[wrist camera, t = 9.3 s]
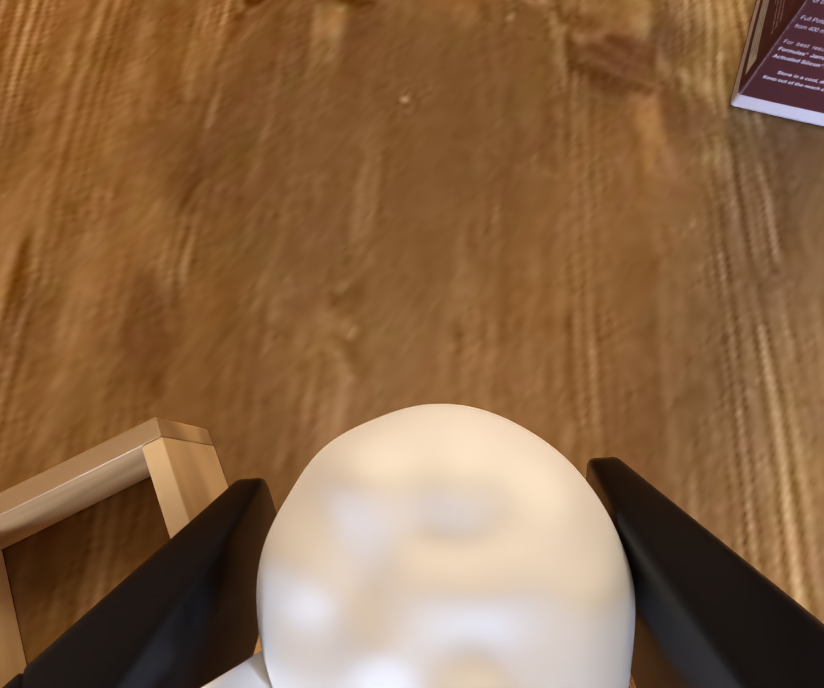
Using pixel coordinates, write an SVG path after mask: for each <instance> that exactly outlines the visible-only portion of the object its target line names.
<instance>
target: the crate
mask: <svg viewBox="0 0 824 688" xmlns="http://www.w3.org/2000/svg"><path fill="white" fill-rule="evenodd" d="M212 445H213V443H212V441H211V438H210V435H209V432H208V430H207V429H204V428H200V427H196V426H191V425H187V424H183V423H178V422H174V421H170V420H165V419H161V418H157V417H154V418H152V419H150V420H148V421H146V422H144V423H142V424H140V425H138V426H136V427H134V428H131V429H129V430H127V431H125V432H123V433H121V434H119V435H117V436H115V437H113V438H111V439H109V440H107V441H105V442H103V443H101V444H99V445H97V446H95V447H93V448H91V449H89V450H87V451H84V452H82V453H80V454H78V455H76V456H74V457H72V458H70V459H68V460H66V461H64V462H62V463H60V464H58V465H56V466H54V467H52V468H50V469H48V470H46V471H44V472H42V473H39V474H37V475H35V476H33V477H31V478H29V479H27V480H25V481H23V482H21V483H19V484H17V485H15V486H13V487H11V488H9V489H7V490H5V491H3V492H1V493H0V688H2V687H3V686H4V685H6V684H7V683H8V682H9V681H10V680H11V679H12V678H13V677H15V676H16V675H17V674H19V673H23V672H24V669H25V667H26V666H27V665H26V660H25V655H24V651H23V646H22V641H21V637H20V632H19V627H18V623H17V618H16V613H15V609H14V604H13V599H12V595H11V590H10V585H9V581H8V576H7V571H6V567H5V562H4V558H3V553H2V551H1V550H2V549H4V548H6V547H8V546H10V545H12V544H14V543H16V542H18V541H20V540H22V539H24V538H26V537H28V536H30V535H32V534H34V533H36V532H39V531H41V530H43V529H45V528H47V527H49V526H51V525H53V524H55V523H57V522H59V521H61V520H63V519H65V518H67V517H69V516H71V515H73V514H75V513H77V512H79V511H81V510H83V509H85V508H87V507H89V506H91V505H93V504H95V503H97V502H99V501H101V500H103V499H105V498H108V497H110V496H112V495H114V494H116V493H118V492H120V491H122V490H124V489H126V488H128V487H130V486H132V485H134V484H136V483H138V482H140V481H142V480H144V479H146V478H148V477H150V476H151V478H152V482H153V485H154V488H155V491H156V494H157V498H158V501H159V504H160V507H161V510H162V514H163V517H164V520H165V523H166V526H167V530H168V533H169V536H170V539H171V538H172V537H173V536H174V535H175V534H177V533H178V532H179V531H180V530H181V529H182V528H183V527H184V526H186V525H187V524H188V523H189V522H190V521H191V520H192V519H194V518H195V517H196V516H197V515H198V514H199V513H200V512H201V511H203V510H204V509H205V508H206V507H207V506H208V505H209V504H210V503H212V502H213V501H214V500H215V499H216V498H217V497H218V496H220V495H221V494H222V493H223V492H224V491H225V490H226V489H227V488H228V485H227V482H226V479H225V477H224V474H223V471H222V468H221V465H220V462H219V460H218V457H217V454H216V451H215V448H214V446H212ZM260 651H262V648H261V642H260V636H258V640H257V644H256V648H255V651H254V655H255V654H257V653H259V652H260Z"/></svg>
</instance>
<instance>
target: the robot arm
mask: <svg viewBox="0 0 824 688" xmlns="http://www.w3.org/2000/svg"><path fill="white" fill-rule="evenodd" d="M586 481H587V482H588V484H589V485H590V486H591V488H592V489H593V491H594V492H595V494H596V495H597V496H598V498H599V500H600V501H601V503H602V504H603V506H604V508H605V509H606V511H607V513H608V515H609V517H610V519H611V521H612V523H613V525H614V527H615V529H616V531H617V533H618V535H619V538H620V540H621V543H622V545H623V548H624V550H625V553H626V556H627V559H628V562H629V566H630V569H631V574H632V578H633V584H634V591H635V632H634V644H633V655H632V664H631V674H632V677H633V680H634V683H635V685H636V688H824V624H823V623H822V622H821V621H820V620H818V619H817V618H816V617H815V616H813V615H812V614H811V613H810V612H808V611H807V610H806V609H805V608H803V607H802V606H801V605H800V604H798V603H797V602H796V601H795V600H793V599H792V598H791V597H790V596H789V595H787V594H786V593H785V592H784V591H782V590H781V589H780V588H779V587H777V586H776V585H775V584H774V583H772V582H771V581H770V580H769V579H767V578H766V577H765V576H764V575H763V574H761V573H760V572H759V571H758V570H756V569H755V568H754V567H753V566H751V565H750V564H749V563H748V562H746V561H745V560H744V559H743V558H741V557H740V556H739V555H738V554H736V553H735V552H734V551H733V550H732V549H730V548H729V547H728V546H727V545H725V544H724V543H723V542H722V541H720V540H719V539H718V538H717V537H715V536H714V535H713V534H712V533H710V532H709V531H708V530H707V529H706V528H704V527H703V526H702V525H701V524H699V523H698V522H697V521H696V520H694V519H693V518H692V517H691V516H689V515H688V514H687V513H686V512H684V511H683V510H682V509H681V508H679V507H678V506H677V505H676V504H675V503H673V502H672V501H671V500H670V499H668V498H667V497H666V496H665V495H663V494H662V493H661V492H660V491H658V490H657V489H656V488H655V487H653V486H652V485H651V484H650V483H649V482H647V481H646V480H645V479H644V478H642V477H641V476H640V475H639V474H637V473H636V472H635V471H634V470H632V469H631V468H630V467H629V466H627V465H626V464H625V463H624V462H622V461H621V460H620V459H618V458H615V457H607V458H593V459H591V460H589V462H588V464H587V473H586ZM276 516H277V513H276V510H275V507H274V503H273V500H272V497H271V494H270V491H269V488H268V485H267V483H266V481H265V480H264V479H261V478H251V479H240V480H237V481H236V482H234V483H233V484H232V485H231V486H230V487H229V488H227V489H226V490H225V491H224V492H223V493H222V494H221V495H220V496H218V497H217V498H216V499H215V500H214V501H213V502H212V503H210V504H209V505H208V506H207V507H206V508H205V509H204V510H203V511H201V512H200V513H199V514H198V515H197V516H196V517H195V518H194V519H192V520H191V521H190V522H189V523H188V524H187V525H186V526H184V527H183V528H182V529H181V530H180V531H179V532H178V533H177V534H175V535H174V536H173V537H172V538H171V539H170V540H169V541H168V542H166V543H165V544H164V545H163V546H162V547H161V548H160V549H158V550H157V551H156V552H155V553H154V554H153V555H152V556H151V557H149V558H148V559H147V560H146V561H145V562H144V563H143V564H142V565H140V566H139V567H138V568H137V569H136V570H135V571H134V572H132V573H131V574H130V575H129V576H128V577H127V578H126V579H125V580H123V581H122V582H121V583H120V584H119V585H118V586H117V587H116V588H114V589H113V590H112V591H111V592H110V593H109V594H108V595H106V596H105V597H104V598H103V599H102V600H101V601H100V602H99V603H97V604H96V605H95V606H94V607H93V608H92V609H91V610H90V611H88V612H87V613H86V614H85V615H84V616H83V617H82V618H80V619H79V620H78V621H77V622H76V623H75V624H74V625H73V626H71V627H70V628H69V629H68V630H67V631H66V632H65V633H64V634H62V635H61V636H60V637H59V638H58V639H57V640H56V641H54V642H53V643H52V644H51V645H50V646H49V647H48V648H47V649H45V650H44V651H43V652H42V653H41V654H40V655H39V656H38V657H36V658H35V659H34V660H33V661H32V662H31V663H30V664H28V665H27V666H26V667H25V669H24V672H23V673H19V674H17V675H16V676H15V677H13V678H12V679H11V680H10V681H9V682H8V683H7V684H6V685H4V686H3V687H2V688H199V687H201V686H202V685H204V684H206V683H208V682H209V681H211V680H213V679H214V678H216V677H218V676H219V675H221V674H223V673H225V672H226V671H228V670H230V669H231V668H233V667H235V666H236V665H238V664H240V663H242V662H243V661H245V660H247V659H248V658H250V657H252V656H253V655H254V651H255V648H256V644H257V640H258V636H259V628H258V620H257V604H256V589H257V575H258V568H259V562H260V558H261V553H262V550H263V546H264V543H265V540H266V538H267V535H268V533H269V530H270V528H271V526H272V524H273V522H274V520H275V518H276Z"/></svg>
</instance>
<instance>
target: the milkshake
mask: <svg viewBox="0 0 824 688" xmlns="http://www.w3.org/2000/svg"><path fill="white" fill-rule="evenodd" d="M256 604H257V620H258V628H259V636H260V642H261V648H262V651H260V652H259V653H257V654H255V655H253V656H252V657H250V658H248V659H247V660H245V661H243V662H242V663H240V664H238V665H236V666H235V667H233V668H231V669H230V670H228V671H226V672H225V673H223V674H221V675H219V676H218V677H216V678H214V679H213V680H211V681H209V682H208V683H206V684H204V685H202V686H201V687H199V688H628V687H629V681H630V674H631V664H632V655H633V644H634V632H635V591H634V584H633V578H632V574H631V569H630V566H629V562H628V559H627V556H626V553H625V550H624V548H623V545H622V543H621V540H620V538H619V535H618V533H617V531H616V529H615V527H614V525H613V523H612V521H611V519H610V517H609V515H608V513H607V511H606V509H605V508H604V506H603V504H602V503H601V501H600V500H599V498H598V496H597V495H596V494H595V492H594V491H593V489H592V488H591V486H590V485H589V484H588V482H587V481H586V480H585V479H584V477H583V476H582V475H581V474H580V473H579V471H578V470H577V469H576V468H575V467H574V466H573V465H572V464H571V463H570V462H569V461H568V460H567V459H566V458H565V457H564V456H563V455H562V454H561V453H559V452H558V451H557V450H556V449H555V448H553V447H552V446H551V445H549V444H548V443H547V442H545V441H544V440H543V439H541V438H540V437H538V436H537V435H535V434H533V433H532V432H530V431H528V430H527V429H525V428H523V427H521V426H520V425H518V424H516V423H514V422H512V421H510V420H508V419H506V418H504V417H501V416H499V415H496V414H494V413H491V412H488V411H485V410H482V409H478V408H474V407H469V406H464V405H456V404H427V405H419V406H413V407H409V408H405V409H401V410H398V411H395V412H392V413H389V414H386V415H383V416H381V417H378V418H376V419H373V420H371V421H369V422H366V423H364V424H362V425H360V426H357V427H355V428H353V429H351V430H349V431H347V432H345V433H344V434H342V435H340V436H339V437H337V438H336V439H334V440H333V441H331V442H330V443H329V444H327V445H326V446H325V447H324V448H323V449H322V450H321V451H320V452H318V453H317V455H316V456H315V457H314V458H313V459H312V460H311V462H310V463H309V464H308V465H307V467H306V468H305V469H304V471H303V472H302V474H301V475H300V477H299V478H298V480H297V482H296V483H295V485H294V487H293V488H292V490H291V492H290V493H289V495H288V497H287V498H286V500H285V502H284V503H283V505H282V507H281V509H280V510H279V512H278V514H277V516H276V518H275V520H274V522H273V524H272V526H271V528H270V530H269V533H268V535H267V538H266V540H265V543H264V546H263V550H262V553H261V558H260V562H259V568H258V575H257V589H256Z"/></svg>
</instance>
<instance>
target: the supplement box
mask: <svg viewBox="0 0 824 688" xmlns="http://www.w3.org/2000/svg"><path fill="white" fill-rule="evenodd" d="M731 105H732V106H736V107H740V108H744V109H748V110H752V111H757V112H761V113H765V114H769V115H773V116H779V117H783V118H787V119H791V120H796V121H801V122H805V123H810V124H815V125H819V126H824V0H757V2H756V6H755V10H754V14H753V18H752V21H751V25H750V29H749V32H748V36H747V40H746V44H745V48H744V52H743V56H742V59H741V63H740V67H739V70H738V74H737V78H736V82H735V86H734V90H733V94H732V98H731Z"/></svg>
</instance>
